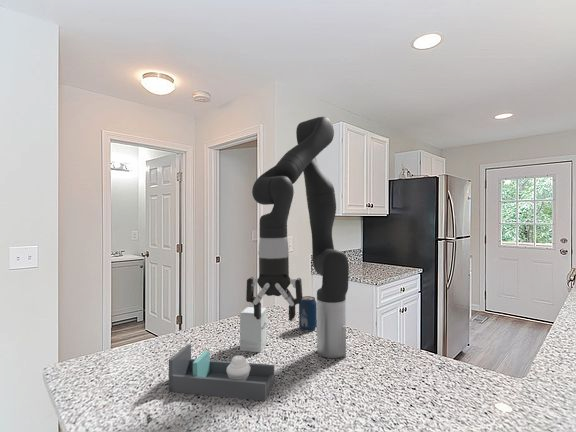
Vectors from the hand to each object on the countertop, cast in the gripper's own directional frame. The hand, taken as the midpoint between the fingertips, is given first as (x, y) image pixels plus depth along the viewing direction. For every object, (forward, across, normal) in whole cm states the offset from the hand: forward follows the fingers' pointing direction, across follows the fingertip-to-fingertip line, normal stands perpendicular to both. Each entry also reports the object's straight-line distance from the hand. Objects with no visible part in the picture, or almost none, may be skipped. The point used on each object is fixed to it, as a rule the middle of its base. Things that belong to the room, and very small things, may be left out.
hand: (274, 319), depth 81 cm
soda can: (+18, -3, -46) cm, 49 cm away
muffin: (+17, +10, 0) cm, 20 cm away
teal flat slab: (+17, +20, 0) cm, 26 cm away
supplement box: (+18, +13, -25) cm, 33 cm away
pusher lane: (+18, +14, 0) cm, 23 cm away
